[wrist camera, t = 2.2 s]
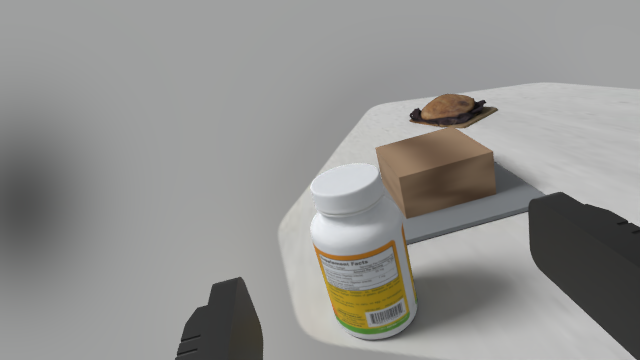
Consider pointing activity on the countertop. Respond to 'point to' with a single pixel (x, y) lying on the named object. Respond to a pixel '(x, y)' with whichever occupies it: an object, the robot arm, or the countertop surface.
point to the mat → (472, 208)
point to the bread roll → (452, 111)
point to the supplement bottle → (362, 252)
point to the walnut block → (436, 171)
